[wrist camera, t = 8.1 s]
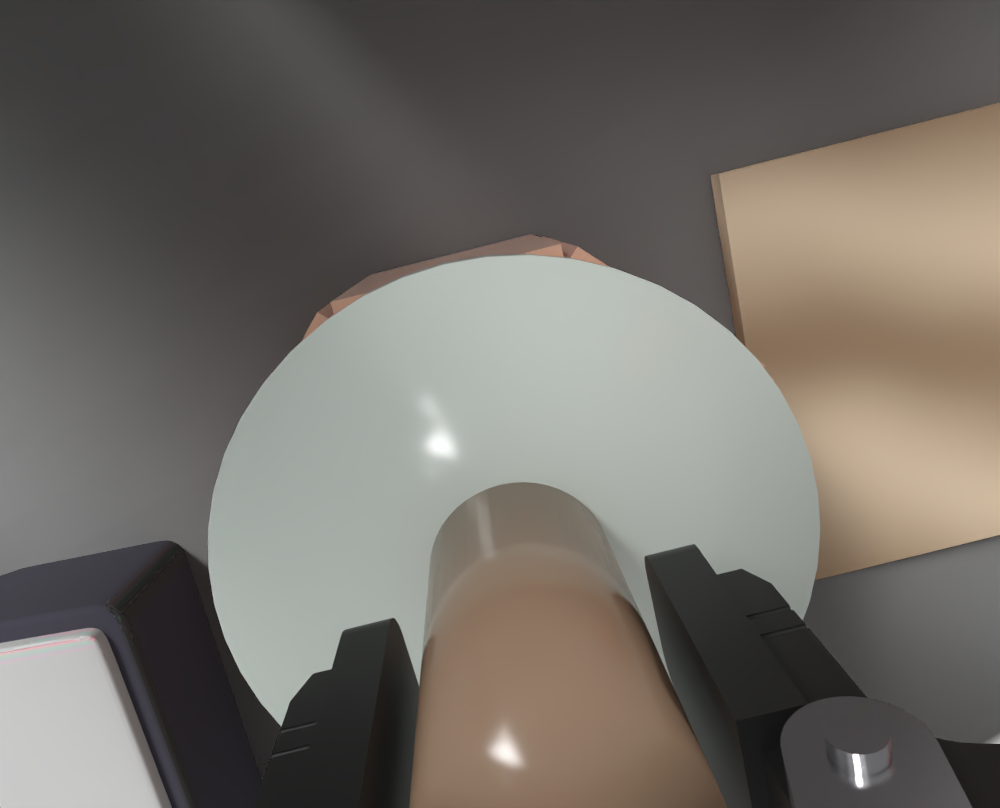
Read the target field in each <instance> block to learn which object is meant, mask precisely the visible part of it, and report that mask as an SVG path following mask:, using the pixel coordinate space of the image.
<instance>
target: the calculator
mask: <svg viewBox="0 0 1000 808" xmlns="http://www.w3.org/2000/svg"><path fill="white" fill-rule="evenodd" d="M261 784H262V780H261V777H260V774H259V771H258V768H257V765H256V762H255V759H254V756H253V753H252V750H251V747H250V744H249V741H248V738H247V735H246V732H245V729H244V726H243V723H242V720H241V717H240V714H239V712H238V709H237V706H236V703H235V700H234V697H233V694H232V691H231V688H230V685H229V682H228V679H227V676H226V673H225V670H224V667H223V664H222V661H221V658H220V655H219V652H218V649H217V646H216V643H215V640H214V637H213V634H212V631H211V628H210V625H209V622H208V619H207V616H206V613H205V610H204V608H203V605H202V602H201V599H200V596H199V593H198V590H197V587H196V584H195V581H194V578H193V575H192V572H191V569H190V566H189V563H188V560H187V557H186V555H185V553H184V551H183V549H182V548H181V547H180V546H179V545H178V544H176V543H174V542H172V541H159V542H153V543H148V544H143V545H138V546H133V547H128V548H123V549H117V550H112V551H107V552H102V553H97V554H92V555H87V556H82V557H77V558H72V559H67V560H62V561H57V562H52V563H47V564H42V565H37V566H32V567H27V568H23V569H19V570H17V571H14V572H11V573H8V574H5V575H2V576H0V808H253V807H254V804H255V801H256V798H257V795H258V792H259V790H260V787H261Z"/></svg>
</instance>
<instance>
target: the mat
mask: <svg viewBox="0 0 1000 808" xmlns="http://www.w3.org/2000/svg"><path fill="white" fill-rule="evenodd" d="M710 177H711V183H712V189H713V195H714V202H715V208H716V214H717V221H718V227H719V233H720V239H721V246H722V252H723V258H724V265H725V271H726V277H727V284H728V290H729V296H730V302H731V309H732V315H733V321H734V328H735V334H736V338H737V339H738V340H739V341H740V342H741V343H742V344H743V345H744V346H745V347H746V348H747V349H748V350H749V351H750V352H751V353H752V354H753V355H754V356H755V357H756V358H757V359H758V361H759V362H761V363H762V364H764V365H765V366H764V369H765V370H766V371H767V373H768V374H769V376H771V377H773V379H774V382H775V384H776V385H777V386H778V388H779V389H780V391H781V392H782V394H783V396H784V398H785V400H786V402H787V404H788V405H789V407H790V409H791V411H792V413H793V415H794V417H795V418H796V420H797V422H798V424H799V427H800V430H801V433H802V435H803V438H804V441H805V444H806V446H807V449H808V452H809V455H810V458H811V462H812V467H813V471H814V476H815V481H816V486H817V491H818V499H819V516H820V542H819V554H818V567H817V571H816V576H815V580H818V579H822V578H827V577H831V576H835V575H839V574H843V573H847V572H851V571H855V570H859V569H863V568H867V567H871V566H875V565H879V564H884V563H888V562H892V561H896V560H900V559H904V558H908V557H912V556H916V555H920V554H924V553H928V552H932V551H936V550H940V549H945V548H949V547H953V546H957V545H961V544H965V543H969V542H973V541H977V540H981V539H985V538H989V537H993V536H997V535H1000V102H999V103H995V104H991V105H987V106H983V107H979V108H975V109H971V110H967V111H963V112H959V113H955V114H951V115H947V116H943V117H939V118H935V119H932V120H928V121H924V122H920V123H916V124H912V125H908V126H904V127H900V128H896V129H892V130H888V131H884V132H880V133H876V134H872V135H868V136H864V137H860V138H856V139H852V140H849V141H845V142H841V143H837V144H833V145H829V146H825V147H821V148H817V149H813V150H809V151H805V152H801V153H797V154H793V155H789V156H785V157H781V158H777V159H773V160H769V161H766V162H762V163H758V164H754V165H750V166H746V167H742V168H738V169H734V170H730V171H726V172H722V173H718V174H714V175H710Z"/></svg>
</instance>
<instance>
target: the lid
mask: <svg viewBox="0 0 1000 808" xmlns="http://www.w3.org/2000/svg"><path fill="white" fill-rule="evenodd" d="M819 542H820V516H819V499H818V491H817V486H816V481H815V476H814V471H813V467H812V462H811V458H810V455H809V452H808V449H807V446H806V444H805V441H804V438H803V435H802V433H801V430H800V427H799V424H798V422H797V420H796V418H795V417H794V415H793V413H792V411H791V409H790V407H789V405H788V404H787V402H786V400H785V398H784V396H783V394H782V392H781V391H780V389H779V388H778V386H777V385H776V384H775V382H774V381H773V380H772V378H771V377H770V376H769V374H768V373H767V371H766V370H765V369H764V367H763V366H762V365H761V363H760V362H759V361H758V359H757V358H756V357H755V356H754V355H753V354H752V353H751V352H750V351H749V350H748V349H747V348H746V347H745V346H744V345H743V344H742V343H741V342H740V341H739V340H738V339H737V338H736V337H735V336H734V335H733V334H732V333H731V332H730V331H729V330H728V329H726V328H725V327H724V326H722V325H721V324H720V323H718V322H717V321H716V320H714V319H713V318H712V317H710V316H709V315H708V314H706V313H705V312H704V311H702V310H701V309H700V308H698V307H697V306H696V305H694V304H692V303H690V302H689V301H687V300H685V299H683V298H681V297H679V296H678V295H676V294H674V293H672V292H670V291H669V290H667V289H665V288H663V287H661V286H659V285H657V284H654V283H652V282H649V281H647V280H644V279H641V278H639V277H636V276H633V275H631V274H628V273H626V272H623V271H620V270H618V269H615V268H612V267H609V266H605V265H601V264H596V263H592V262H588V261H583V260H579V259H575V258H570V257H561V256H550V255H539V254H529V253H526V254H499V255H483V256H478V257H472V258H466V259H461V260H455V261H449V262H444V263H441V264H438V265H435V266H431V267H428V268H425V269H422V270H419V271H416V272H413V273H410V274H406V275H404V276H402V277H399V278H397V279H395V280H393V281H391V282H389V283H387V284H385V285H383V286H380V287H378V288H376V289H374V290H372V291H370V292H368V293H366V294H365V295H363V296H361V297H360V298H358V299H357V300H355V301H354V302H352V303H351V304H349V305H348V306H346V307H345V308H343V309H342V310H340V311H339V312H337V313H335V314H334V315H332V316H331V317H330V318H329V319H327V320H326V321H325V322H324V323H323V324H321V325H320V326H319V327H318V328H317V329H316V330H315V331H313V332H312V333H311V334H310V335H309V336H308V337H306V338H305V339H304V340H303V341H302V342H301V343H300V344H298V345H297V346H296V347H295V348H294V349H293V350H292V351H291V352H290V353H289V354H288V355H287V356H286V357H285V358H284V360H283V361H282V362H281V363H280V364H279V365H278V367H277V368H276V369H275V370H274V371H273V372H272V373H271V375H270V376H269V377H268V378H267V379H266V380H265V382H264V383H263V384H262V386H261V387H260V389H259V390H258V392H257V393H256V395H255V397H254V398H253V400H252V401H251V403H250V404H249V406H248V407H247V409H246V411H245V412H244V414H243V415H242V417H241V419H240V421H239V423H238V425H237V427H236V430H235V432H234V434H233V436H232V438H231V440H230V443H229V445H228V447H227V449H226V451H225V454H224V457H223V460H222V464H221V467H220V470H219V474H218V477H217V481H216V484H215V487H214V491H213V497H212V504H211V512H210V519H209V526H208V568H209V575H210V581H211V588H212V594H213V600H214V605H215V609H216V612H217V615H218V618H219V622H220V625H221V628H222V631H223V635H224V638H225V640H226V643H227V645H228V647H229V649H230V651H231V653H232V655H233V657H234V659H235V662H236V664H237V666H238V668H239V670H240V672H241V674H242V675H243V677H244V678H245V680H246V681H247V683H248V684H249V686H250V687H251V689H252V690H253V692H254V694H255V695H256V697H257V698H258V700H259V701H260V703H261V704H262V705H263V706H264V707H265V708H266V710H267V711H268V712H269V713H270V714H271V715H272V716H273V718H274V719H275V720H276V721H277V722H278V723H279V725H280V726H282V723H283V721H284V718H285V715H286V712H287V709H288V706H289V703H290V701H291V700H292V698H293V697H294V696H295V695H296V694H297V692H298V691H299V690H300V689H301V687H302V686H303V685H304V684H305V683H306V681H307V680H308V679H309V678H310V676H311V675H312V674H313V673H317V672H321V671H325V670H330V669H332V666H333V662H334V659H335V655H336V652H337V648H338V644H339V641H340V637H341V634H342V632H343V631H344V630H345V629H349V628H353V627H357V626H361V625H365V624H369V623H374V622H378V621H382V620H386V619H390V618H395V619H396V621H397V622H398V624H399V626H400V629H401V631H402V634H403V637H404V640H405V644H406V647H407V650H408V653H409V656H410V659H411V662H412V665H413V669H414V672H415V675H416V678H417V681H418V684H419V697H418V709H417V720H416V732H415V744H414V756H413V768H412V779H411V791H410V803H409V808H727V804H726V802H725V800H724V798H723V795H722V793H721V791H720V789H719V787H718V784H717V782H716V780H715V778H714V775H713V773H712V771H711V769H710V767H709V764H708V762H707V760H706V758H705V755H704V753H703V751H702V749H701V747H700V744H699V742H698V740H697V738H696V735H695V733H694V731H693V729H692V727H691V724H690V722H689V720H688V718H687V715H686V713H685V711H684V709H683V707H682V704H681V702H680V700H679V698H678V696H677V693H676V691H675V689H674V686H673V684H672V681H671V678H670V675H669V672H668V668H667V665H666V662H665V658H664V654H663V650H662V645H661V641H660V636H659V631H658V626H657V622H656V617H655V612H654V607H653V603H652V598H651V593H650V588H649V584H648V579H647V574H646V569H645V562H644V558H645V556H647V555H651V554H655V553H659V552H663V551H667V550H671V549H675V548H679V547H683V546H687V545H691V544H695V545H696V546H697V547H698V548H699V550H700V551H701V553H702V554H703V556H704V557H705V558H706V560H707V561H708V563H709V564H710V565H711V567H712V568H713V570H714V571H715V573H716V574H721V573H726V572H730V571H734V570H738V569H743V570H745V571H747V572H749V573H752V574H754V575H756V576H758V577H760V578H762V579H764V580H766V581H768V582H770V583H772V585H773V586H774V587H775V588H776V589H777V591H778V592H779V593H780V594H781V595H782V597H783V598H784V599H785V600H786V601H787V603H788V604H789V605H790V608H791V610H794V611H795V612H796V613H797V615H798V616H799V617H800V618H801V619H802V621H803V619H804V616H805V613H806V611H807V608H808V605H809V602H810V598H811V594H812V589H813V585H814V580H815V576H816V571H817V567H818V554H819Z"/></svg>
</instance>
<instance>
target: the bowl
mask: <svg viewBox="0 0 1000 808" xmlns="http://www.w3.org/2000/svg"><path fill="white" fill-rule="evenodd" d="M526 253H529V254H539V255H550V256H561V257H570V258H575V259H579V260H583V261H588V262H592V263H596V264H601V265H605V266H608V265H606V264H604V263H603V262H601V261H600V260H598V259H597V258H595V257H593V256H592V255H590V254H589V253H587V252H585V251H584V250H582V249H581V248H579V247H578V246H574V245H571V244H568V243H564V242H561V241H557V240H554V239H551V238H547V237H544V236H542V237H538V236H535V235H532V234H529V235H525V236H521V237H517V238H513V239H509V240H505V241H501V242H497V243H494V244H490V245H486V246H482V247H478V248H474V249H470V250H466V251H462V252H458V253H454V254H450V255H446V256H442V257H438V258H434V259H430V260H426V261H422V262H418V263H414V264H410V265H406V266H403V267H399V268H395V269H391V270H387V271H383V272H379V273H375V274H371V275H369V276H367V277H366V278H364V279H363V280H362V281H360V282H359V283H357V284H356V285H354V286H353V287H351V288H350V289H349V290H347V291H346V292H344V293H343V294H341V295H340V296H338V297H337V298H336V299H334V300H333V301H331V302H330V304H328V305H327V306H325V307H324V308H322V309H321V310H320V311H318V312H317V313H316V315H315V317H314V319H313V321H312V323H311V324H310V326H309V328H308V330H307V332H306V334H305V335H304V337H303V339H302V341H303V340H304V339H305V338H306V337H308V336H309V335H310V334H311V333H312V332H313V331H315V330H316V329H317V328H318V327H319V326H320V325H321V324H323V323H324V322H325V321H326V320H327V319H329V318H330V317H331V316H332V315H334V314H335V313H337V312H339V311H340V310H342V309H343V308H345V307H346V306H348V305H349V304H351V303H352V302H354V301H355V300H357V299H358V298H360V297H361V296H363V295H365V294H366V293H368V292H370V291H372V290H374V289H376V288H378V287H380V286H383V285H385V284H387V283H389V282H391V281H393V280H395V279H397V278H399V277H402V276H404V275H406V274H410V273H413V272H416V271H419V270H422V269H425V268H428V267H431V266H435V265H438V264H441V263H444V262H449V261H455V260H461V259H466V258H472V257H478V256H483V255H499V254H526ZM302 341H301V342H302ZM760 363H761V362H760ZM761 365H762V366H763V367H764V366H765V365H764V364H762V363H761ZM770 377H771V376H770ZM771 378H772V380H773V381H774V379H773V377H771Z"/></svg>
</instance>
